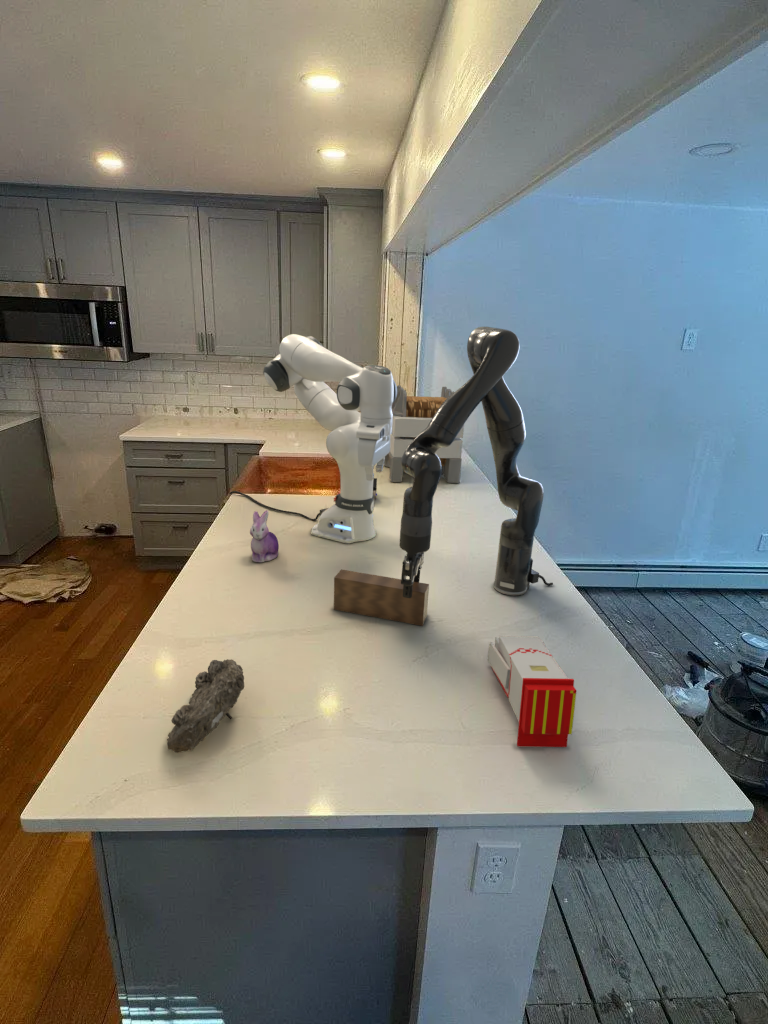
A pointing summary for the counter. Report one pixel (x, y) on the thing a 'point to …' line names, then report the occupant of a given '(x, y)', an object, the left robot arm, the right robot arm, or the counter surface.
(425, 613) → the bar
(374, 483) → the figurine character
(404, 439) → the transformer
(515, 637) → the toy
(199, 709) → the fossil
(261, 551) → the figurine
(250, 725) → the counter surface
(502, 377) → the right robot arm
